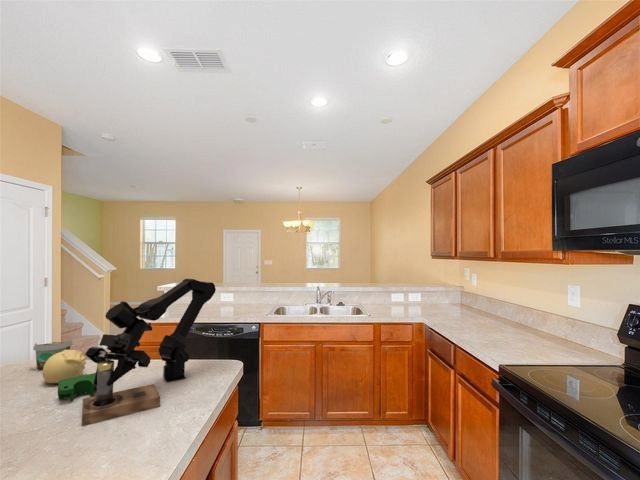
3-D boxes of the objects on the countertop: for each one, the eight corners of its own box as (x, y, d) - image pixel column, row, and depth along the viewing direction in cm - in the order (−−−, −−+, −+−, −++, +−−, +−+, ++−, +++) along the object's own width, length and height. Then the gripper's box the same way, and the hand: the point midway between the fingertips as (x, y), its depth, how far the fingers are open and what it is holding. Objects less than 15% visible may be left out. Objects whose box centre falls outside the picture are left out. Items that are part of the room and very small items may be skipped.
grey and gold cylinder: (111, 402, 94) (113, 359, 94) (112, 408, 91) (114, 363, 91) (95, 406, 92) (97, 361, 92) (95, 412, 88) (98, 366, 89)
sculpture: (83, 382, 111) (85, 352, 111) (39, 390, 104) (41, 357, 105) (85, 372, 120) (87, 343, 121) (44, 378, 114) (46, 348, 114)
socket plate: (153, 393, 104) (154, 383, 104) (159, 406, 95) (160, 396, 95) (82, 409, 93) (82, 398, 93) (81, 425, 84) (82, 414, 84)
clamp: (66, 415, 97) (53, 394, 94) (64, 404, 101) (51, 383, 98) (109, 391, 104) (99, 371, 101) (106, 381, 108) (96, 362, 105)
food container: (26, 373, 117) (28, 346, 118) (32, 368, 123) (34, 342, 123) (67, 368, 123) (69, 343, 124) (71, 363, 129) (73, 339, 129)
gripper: (91, 321, 97) (55, 369, 86) (145, 324, 95) (115, 375, 83) (110, 339, 105) (79, 386, 94) (161, 343, 102) (135, 392, 91)
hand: (101, 384), depth 90 cm, fingers closed on grey and gold cylinder, 4 cm apart
